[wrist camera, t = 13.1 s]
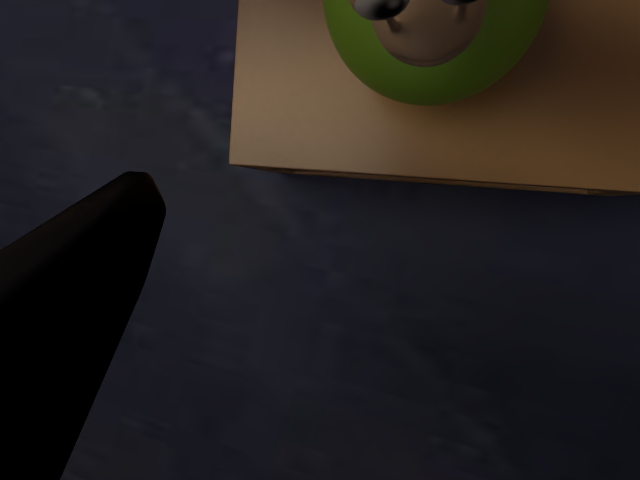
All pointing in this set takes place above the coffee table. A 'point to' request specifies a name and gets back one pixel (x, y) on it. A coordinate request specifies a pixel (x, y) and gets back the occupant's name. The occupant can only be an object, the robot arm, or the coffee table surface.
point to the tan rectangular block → (445, 107)
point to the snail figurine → (432, 44)
